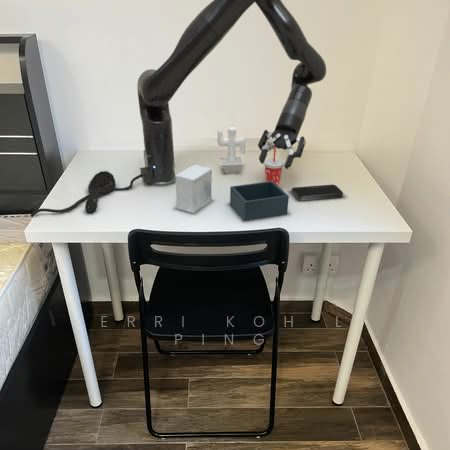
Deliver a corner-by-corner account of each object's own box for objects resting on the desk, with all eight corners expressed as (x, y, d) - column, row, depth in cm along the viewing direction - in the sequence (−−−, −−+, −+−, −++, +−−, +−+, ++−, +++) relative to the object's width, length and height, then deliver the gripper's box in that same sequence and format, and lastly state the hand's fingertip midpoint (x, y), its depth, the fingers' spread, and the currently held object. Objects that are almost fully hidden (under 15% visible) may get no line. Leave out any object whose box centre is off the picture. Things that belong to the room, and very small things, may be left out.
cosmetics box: (194, 214, 134) (193, 179, 127) (176, 209, 136) (174, 175, 130) (212, 200, 141) (212, 167, 135) (194, 196, 144) (193, 163, 137)
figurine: (245, 174, 158) (247, 130, 149) (218, 175, 157) (218, 131, 149) (243, 167, 164) (244, 124, 155) (216, 167, 163) (216, 124, 154)
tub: (244, 221, 130) (244, 202, 127) (229, 204, 139) (230, 186, 136) (287, 214, 134) (289, 195, 131) (270, 198, 143) (272, 180, 139)
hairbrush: (73, 204, 131) (91, 168, 151) (75, 216, 134) (93, 178, 153) (102, 205, 132) (116, 168, 151) (104, 216, 134) (118, 179, 153)
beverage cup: (260, 186, 151) (263, 143, 142) (279, 185, 151) (282, 142, 143) (264, 193, 146) (267, 149, 137) (283, 193, 146) (287, 149, 138)
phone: (344, 194, 143) (298, 197, 141) (343, 197, 144) (298, 200, 141) (334, 184, 149) (290, 187, 147) (334, 187, 150) (290, 190, 148)
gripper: (268, 108, 144) (249, 155, 143) (310, 115, 138) (292, 163, 137) (274, 121, 151) (256, 166, 150) (314, 128, 145) (297, 175, 144)
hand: (273, 165), depth 144 cm, fingers open, 8 cm apart
